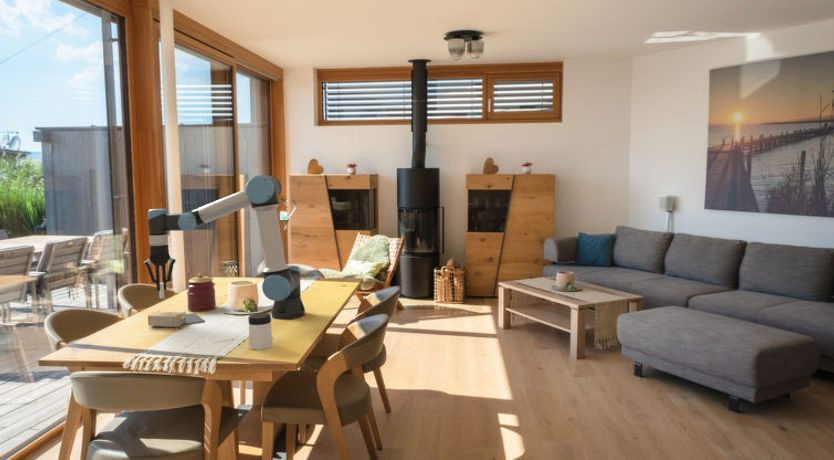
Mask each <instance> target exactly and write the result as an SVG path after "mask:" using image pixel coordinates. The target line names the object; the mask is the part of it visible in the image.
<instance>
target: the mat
mask: <svg viewBox="0 0 834 460" xmlns="http://www.w3.org/2000/svg"><path fill="white" fill-rule="evenodd" d="M205 322H206V321H205V319H204V318H202V317H200V315H198V314H197V313H196V312H193V313H186V322H185V323H183V324H181V325H179V326H178V327H180V326H186V325H194V324H201V323H205ZM161 327H163V328H164V329H166V328H168V329H169V327H168V326H161Z"/></svg>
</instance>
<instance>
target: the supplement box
mask: <svg viewBox="0 0 834 460" xmlns="http://www.w3.org/2000/svg"><path fill="white" fill-rule="evenodd" d="M186 314H187V313H186V311H162V310H160V311H159V310H158V311H157V312H153V313H151V314H149V315H147V323H148V324H147V325H148V327H162V326H168V328H174V327H175V328H176V327H180V326H179V325H181V324H183V323H185V322H186ZM181 326H182V325H181Z"/></svg>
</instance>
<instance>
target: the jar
mask: <svg viewBox="0 0 834 460" xmlns="http://www.w3.org/2000/svg"><path fill="white" fill-rule="evenodd" d="M272 334H273V333H272V314H270V313H268V312H266V313H265V312H259V313H258V312H257V313H253V314H249V316H248V336H249V337H248V338H249V347H250V350H257V351H258V350H259V351H262V350H266V349H270V348H273V335H272Z"/></svg>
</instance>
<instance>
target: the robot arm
mask: <svg viewBox="0 0 834 460" xmlns="http://www.w3.org/2000/svg"><path fill="white" fill-rule="evenodd" d="M282 190H283V187H282V183H281V181H280V180H279V179H278V178H277V177H276V176H274V175H272V174H258V175H255V176H253V177H251V178H249V180H248V181H247V183H246V184H245V188H244V189H243V190H239V191H238V192H235V193H232V194H230V195H228V196H226V197H222V198H220V199H218V200H215V201H213V202H210V203H208V204H205V205H203V206H201V207H198V208H196V209H192V210H190V211H186V212H178V213H168V212H167V210H166V209H165V208H151V209H149V210H148V211H147V225H148V227H147V228H148V242H149V243H148V244H149V257H148V259H147V260H145V261H143V265H145V267H146V269H147V271H148V274H149V278H150V281H151V282H152V283H153V284H155V286H156V289H155V290H156V291H157V292H159V299H165V291H167V283H168V282H170V281H171V279H172V274H173V269H174V265H175V264H176V261H177V260H176V259H175V258H172V257H171V255H170V250H169V245H168V243H169V235H168V232H171V231H174V232H175V231H176V232H178V231H180V232H183V231H184V232H187V231H193V230H194V229H196V228H199V227H201V226H202V225H205V224H207V223H210V222H212V221H215V220H216V219H220V218H222V217H225V216H227V215H230V214H232V213H235V212H237V211H239V210H242V209H245V208H248V207H249V206H251V209H252V210H253V211H254V212H255V214H256V219H257V225H258V231H259V236H260V243H261V249H262V255H263V261H264V269H263V270H262V275H263V282H262V286H261V290H262V292H263V295H264V296H265V297H266V298H267V299H269V300H270V301H273V304H272V308H271V314H270V315H271V318H274V319H279V320H289V319H296V318H297V319H298V318H301V317H304V316H305V315H306V309H305V306H304V303H303V300H302V297H301V290H302V289H301V271H300V270H301V269H300V267H299V265H289V264H287V263H286V257H285V252H284V251H285V250H284V246H283V240H282V233H281V229H280V223H279V216H278V211H277V209H278V207H279V206H280V200H279V197H280V195H282ZM168 262H169V265H168V270H166V267H167V266H166V265H167V263H168ZM151 263H152V264H153V265H154V273H155V276H154V273H153V270H152V266H151ZM160 266H161V277H160ZM166 271H167V272H166ZM160 278H161V279H160Z"/></svg>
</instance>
